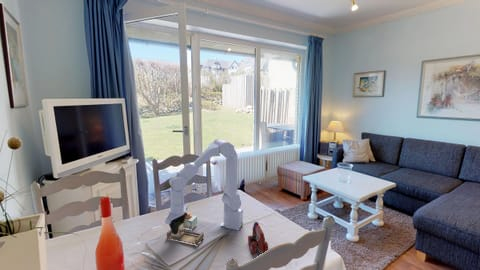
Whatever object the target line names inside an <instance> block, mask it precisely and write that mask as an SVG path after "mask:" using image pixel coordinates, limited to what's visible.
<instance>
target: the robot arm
mask: <svg viewBox="0 0 480 270" xmlns="http://www.w3.org/2000/svg"><path fill="white" fill-rule="evenodd" d="M221 155H222V156H223V157H224V158H225V164H226V165H225V189H223V194H222V197H221V202H222V203H223V221H222V222H221V224H220V225H221V226H225V227H226V228H227V229H231V230H235V231H239V230H240V229H241V226H242V225H243V223H244V209H242V208H241V206H242V200H241V198H240V193H239V190H238V153H237V151H236V150H235V146H234V145H233V144H232V143H231V142H228V141H225V140H224V139H222V138H216V139H215V140H214V141H213V142H210V144H209V145H208V147H207V148H206V149H205V150H204V151H203V152H202V153H201V154H200V155H199V156H198V157H197V158H196V159H195V160H194V161H193V162H188V163H185V164H184V166H183V168H182V169H180V170H179V171H178V172H175V174H173V175H171V177H170V178H169V180H168V185H169V186H170V202H169V203H170V209H169V210H168V212H167V213H169V214H168V215H167V217H166V218H165V220H164V221H165V222H164V223H165V224H166V225H168V226H169V228H170V230H171V231H172V234H175V235H176V234H177V231H178V225H179V222H182V223H184V220H185V218H186V216H187V210H188V209H189V208H188V207H189V206H188V205H187V204H185V188H186V187H187V183H189V181H190V180H191V179H192V178H193V177H195V176H196V175H197V174H198V173H199V170H200V167H202V166H203V165H204V164H205V163H207V161H209V160H210V159H211V158H213V157H221ZM221 226H220V227H221ZM225 227H224V228H225Z"/></svg>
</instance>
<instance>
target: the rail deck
mask: <svg viewBox="0 0 480 270" xmlns="http://www.w3.org/2000/svg"><path fill="white" fill-rule="evenodd" d="M183 232H184V235H183V236H182V237H181V238H176V237H172V236H171V233H172V231H171V229H169V230H168V231H167V232H166V240H168V239H173V240H178V241H184V242H188V243H192V244H196V245H198V243H199V242H200V241H201V240H202V239H203V237H204V235H205V234H204V232H201V233H199V232H195V231H194V232H193V231H189V230H185V229H183ZM204 238H205V237H204ZM203 240H204V239H203ZM203 240H202V241H203ZM198 246H199V245H198Z"/></svg>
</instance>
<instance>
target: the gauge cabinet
mask: <svg viewBox="0 0 480 270" xmlns="http://www.w3.org/2000/svg"><path fill="white" fill-rule="evenodd" d="M196 224H197V225H198V216H197V215H192V214H191V216H190V219H185V220H184V223H183V228H189V229H192V228H193V227H194V226H195V225H196Z"/></svg>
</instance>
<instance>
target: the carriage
mask: <svg viewBox="0 0 480 270" xmlns="http://www.w3.org/2000/svg"><path fill="white" fill-rule="evenodd" d="M183 230H184V229H183V223H182V222H179V225H178V231H177V234H176V235H175V234H172V233H171V236H172V237H176V238H181V237H182V236H183V235H184V232H183Z"/></svg>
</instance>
